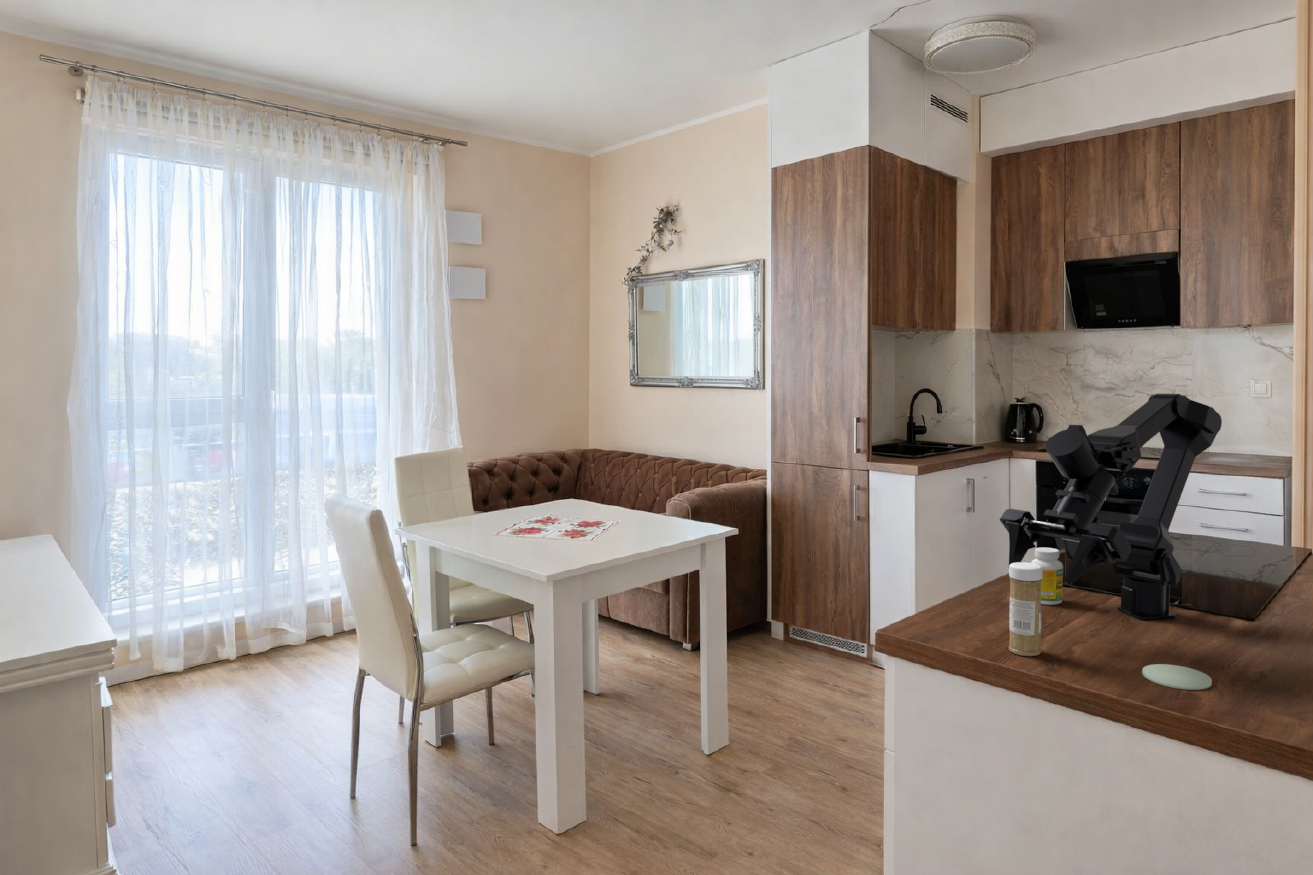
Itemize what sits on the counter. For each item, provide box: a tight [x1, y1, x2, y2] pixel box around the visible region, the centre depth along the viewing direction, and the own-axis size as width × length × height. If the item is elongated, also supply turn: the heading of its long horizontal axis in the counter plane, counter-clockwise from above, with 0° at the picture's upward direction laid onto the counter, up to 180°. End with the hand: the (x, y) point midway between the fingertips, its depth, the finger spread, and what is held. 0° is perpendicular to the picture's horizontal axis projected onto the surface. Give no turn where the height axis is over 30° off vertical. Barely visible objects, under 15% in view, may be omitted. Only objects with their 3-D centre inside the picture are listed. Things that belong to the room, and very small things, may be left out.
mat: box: [1141, 663, 1213, 691], centre depth 110 cm, size 8×8×1 cm
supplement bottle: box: [1030, 546, 1064, 606], centre depth 147 cm, size 5×5×10 cm
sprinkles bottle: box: [1008, 561, 1042, 657], centre depth 121 cm, size 5×5×14 cm
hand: (1037, 576), depth 122 cm, fingers open, 9 cm apart
